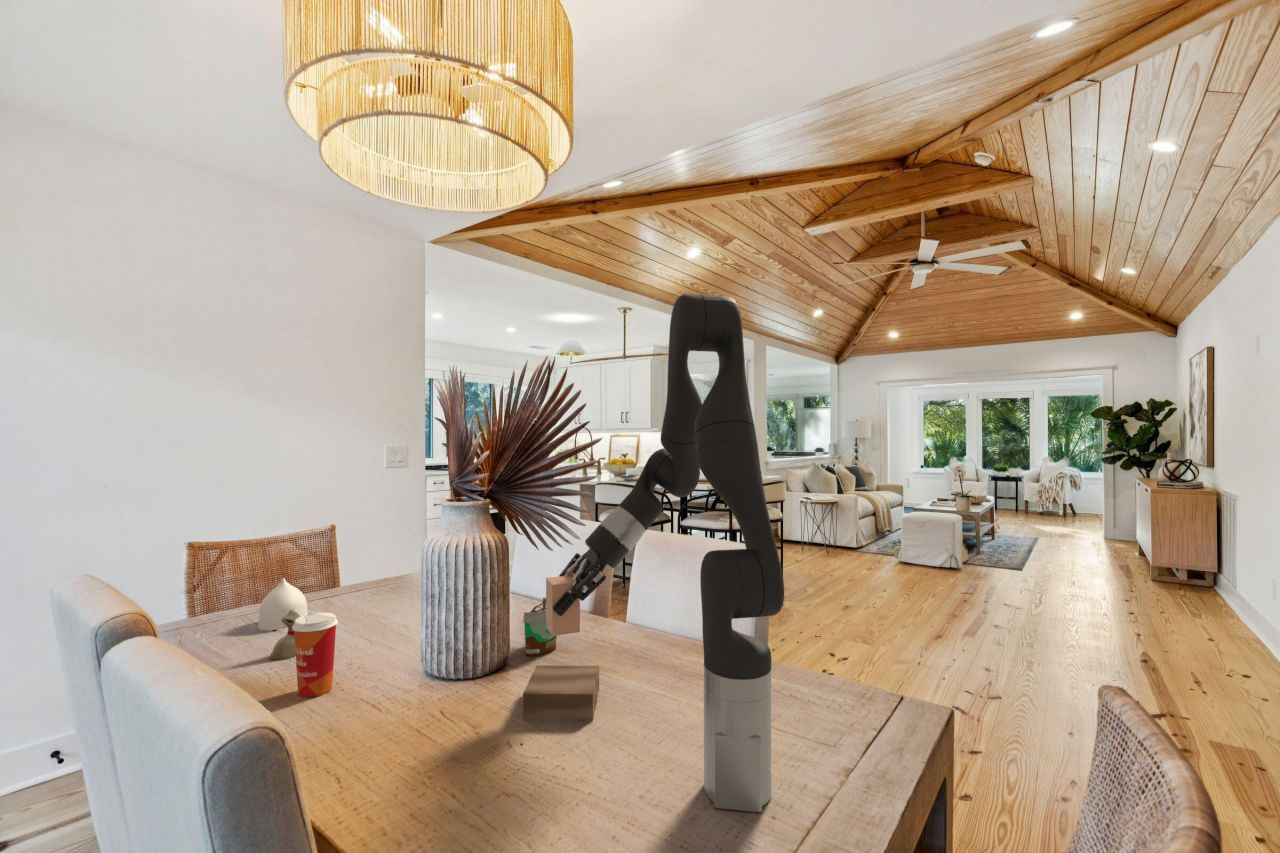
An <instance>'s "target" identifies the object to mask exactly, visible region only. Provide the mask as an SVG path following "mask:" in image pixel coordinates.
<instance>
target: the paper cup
mask: <svg viewBox="0 0 1280 853" xmlns="http://www.w3.org/2000/svg"><path fill="white" fill-rule="evenodd" d="M338 623H339V621H338V619H337V617H336V614H334V613H332V612H315V614H313V613H311V614H308V615H306V616H305V617H304V616H301V617H299V618H297V619H296V620H295V622H294V625H293V627H292V630H294V638H295V653H296V657H295V664H296V665H295V666H296V667H295V668H296V678H297V679H296V680H297V681H296V682H297V692H298V696H299V697H300V696H301V698H303V697H306V698H305V699H311V698H310V697H313V698H317V697H316V696H318V697H321V696H320V695H322V696H324V695H326V694H325V693H327V692H328V693H330V692H331V691H332V688H333V678H334V666H335V665H334V664H335V663H334V662H335V649H336V648H335V647H336V635H337V634H336V630H337V624H338ZM330 690H331V691H330ZM329 691H330V692H329ZM328 693H327V694H328ZM323 694H324V695H323Z"/></svg>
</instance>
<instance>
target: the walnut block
mask: <svg viewBox="0 0 1280 853" xmlns="http://www.w3.org/2000/svg"><path fill="white" fill-rule="evenodd" d="M598 693H600V665H536V666H535V668H534V670H533V672H532V674H531V676H530V678H529V680H528V683H527V684H526V687H525V689H524V691H523V693H522V722H592V721H593V722H594V717H595V714H594V713H596V707H597V704H598V699H597V698H598V697H599V694H598Z"/></svg>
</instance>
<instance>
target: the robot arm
mask: <svg viewBox="0 0 1280 853" xmlns="http://www.w3.org/2000/svg"><path fill="white" fill-rule="evenodd" d="M743 333H744V332H743V321H742V315H741V310H740V308H739V304H738V302H737V301H736V300H735V299H734V298H733V297H730V296H725V295H713V294H712V295H711V294H698V293H685V294H681V295H680V296H678V297H677V298H676V301H675V302H674V304H673V307H672V310H671V317H670V322H669V337H668V338H669V339H668V356H667V357H668V359H667V384H666V385H667V390H666V392H667V393H666V403H665V411H664V415H663V421H662V427H661V432H660V444H661V446H662V447H663V448H661V449H658V450H656V451H654V452H652V453H651V455H650V456H649V458H648V459H647V461H646V462H645V465H644V467H643V469H642V471H641V473H640V475H639V476H638V479H637V481H636V482H635V484H634V486H633V488H632V489H631V491H630V492H629V493H628V494H627V495H626V497H625V498H624V499H623V500H622V501H621V502H620V503H619V504H618V506H616V508H614V509H613V510H612V511H611V512H610V513H609V514H608V515H607V516H606V517H605V518H604V519H603V520H602V521H601V522H600V524H598V525H597V527H596V528H595V529H594V530H593V531H592V532H591V533H590V535H588V537H587V538H586V539H585V541H584V542H585V545H586V546H587V547H588V550H587V551H586V552H585V553H583V554H582V555H581V554H580V553H578V552H577V553H575V554H574V555H573V557H572V558H571V559H570V561H569V562H568V563H567V565H566V566H565V567H564V569H563V570H562V571H561V573H559V575H558V577H560V576H574V577H573V578H572V580H573V584H572V585H571V586H570V587H569V589H568V590H567V592H568V593H567V592H565V593H564V595H563V596H562V597H561V598H560V599H559V600H558V601H557V603H556V604H555V605H554V606H553V610H554V611H555V612H556V613H557V614H558V615H559V616H562V615H563V614H564V613H565V612H566V611H567V610H568V609H569V607H570V606H571V605H572V604H573V603H574V602H575V600H576V601H578V600H579V599H580V601H581V602H583V601H585V600H586V599H587V598H588V597H589V596H590V595H591V594H592V593H593V592H594V591H595V590H596V589H597V588H598V587H599V586H600V585H602V583H604V581H605V580H606V579H607V576H606V574H604V573H603V571H604V570H605V568H606V567H607V565H608V567H610V568H611V569H615V568H617V567H618V566H619V564H620V563H621V562H622V561H623V560H624V558H625V557H626V556H627V555H628V554H629V553H630V552H631V551H632V550H633V548H634V547H635V546H636V545H637V544H638V542H640V540H641V538H642V537H643V535H644V533H646V531H647V530H648V529H649V528H650V527H651V525H652V524H653V523H654V522H655V521H656V520H657V518H659V516H660V515H661V514H662V512H663V508H664V507H663V504H662V502H661V501H660V499H659V498H658V497H657V496H656V494H654V492H655V488H656V486H659V487H661V488H662V489H664V490H665V491H667V493H669V494H671V495H672V496H674V497H677V498H686V497H688V496H689V495H691V494H692V493H693V492H694V491H695V490H696V488H697V487H698V483H699V480H700V474H701V473H702V474H703V476H704V478H705V479H706V480H707V482H708V483H709V485H710V486H711V487H712V488H713V490H714V491H715V492H716V494H718V496H719V497H720V498H721V500H723V502H724V503H725V505H726V506H727V507H728V508H729V509H730V511H731V513H732V514H733V516H734V518H735V520H736V522H737V524H738V526H739V529H740V532H741V535H742V538H743V542H744V545H745V548H738V549H736V548H735V549H715V550H710V551H708V552H706V554H705V555H704V556H703V559H702V561H701V566H700V576H699V578H700V597H701V600H700V601H701V616H702V619H701V620H702V643H703V644H702V646H703V790H704V792H705V794H706V796H707V797H708V799H710V800H711V802H713V808H715V809H721V810H732V811H741V812H743V811H744V812H751V813H761V812H762V811H763V807H764V806H765V805H766V804H767V803H769V801H770V800H771V796H772V652H771V649H770V647H769V645H767V644H766V642H764V641H762V639H761V640H760V639H758V638H757V637H754V636H751V635H748V634H744V633H741V632H738V631H736V630H734V628H733V625H732V624H733V623H732V620H733V619H748V618H749V619H750V618H760V617H761V618H762V617H772V616H776V615H778V614H779V613H780V612H781V610H782V608H783V605H784V601H785V583H784V582H785V581H784V575H783V570H782V565H781V560H780V556H779V555H780V554H779V551H778V547H777V544H776V539H775V535H774V530H773V527H772V523H771V519H770V515H769V514H770V513H769V511H768V504H767V501H766V500H767V499H766V497H765V496H766V495H765V488H764V484H763V477H762V476H763V475H762V469H761V462H760V454H759V453H760V452H759V446H758V439H757V432H756V426H755V422H754V416H753V411H752V407H751V402H750V394H749V389H748V388H749V387H748V381H747V373H746V361H745V350H744V349H745V348H744V347H745V346H744V334H743ZM689 352H711V353H713V352H715V353H716V354H717V357H718V370H717V371H718V372H717V375H716V377H715V380H714V383H713V385H712V386H711V388H710V390H709V392H708V393H707V395H706V397H705V399H704V400H703V402H702V400H701V396H700V394H699V392H698V390H697V388H696V385H695V383H694V381H693V379H692V377H691V374H690V371H689V370H690V369H689V365H688V364H689V362H688V359H689ZM577 584H578V585H577Z"/></svg>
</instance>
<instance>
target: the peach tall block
mask: <svg viewBox="0 0 1280 853" xmlns="http://www.w3.org/2000/svg"><path fill="white" fill-rule="evenodd" d="M573 577H574V576H560V577H559V576H554V577H551V576H549V577H545V598H546V627H547V629H548V630H549V632H550V633H551V635H552V636H555V635H557V636H560V635H561V636H562V635H569V634H576V633H581V602H580V601H581V600H580V599H579V600H578V601H576V600H575V602H574V603H573V604H572V605H571V606H570V607H569V609H568V610H567V611H566V612H565V613H564V614H563V615H562V616H559V615H558V614H557V613H556V612H555V611H554V610H553V606H554V605H555V604H556V603H557V601H558V600H559V599H560V598H561V597H562V596H563V595H564V593H565V592H567V590H568V589H569V587H570V586H571V585H572V584H573V580H572V578H573ZM577 585H578V584H577ZM567 593H568V592H567Z"/></svg>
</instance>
